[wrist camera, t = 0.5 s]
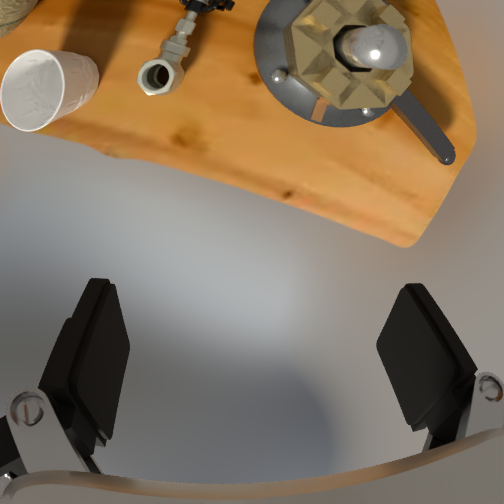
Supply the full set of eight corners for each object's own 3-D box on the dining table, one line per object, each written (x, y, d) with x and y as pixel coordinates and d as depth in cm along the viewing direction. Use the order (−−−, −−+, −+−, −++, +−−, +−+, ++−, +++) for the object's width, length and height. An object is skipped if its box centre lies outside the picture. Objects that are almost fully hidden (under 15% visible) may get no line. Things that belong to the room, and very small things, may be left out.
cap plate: (279, -40, 23) (307, -86, 12) (418, 22, 27) (488, 19, 16) (233, 97, 32) (236, 113, 21) (375, 144, 36) (431, 182, 25)
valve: (187, 101, 32) (234, 8, 26) (179, 108, 26) (236, -5, 21) (134, 83, 30) (179, -10, 24) (115, 87, 24) (169, -26, 19)
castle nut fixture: (261, 55, 27) (269, 52, 22) (329, -20, 23) (351, -36, 17) (413, 188, 37) (440, 210, 31) (465, 124, 32) (497, 139, 26)
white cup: (82, 123, 31) (41, 145, 23) (38, 94, 28) (-10, 110, 20) (117, 67, 28) (80, 70, 20) (69, 39, 25) (22, 37, 17)
